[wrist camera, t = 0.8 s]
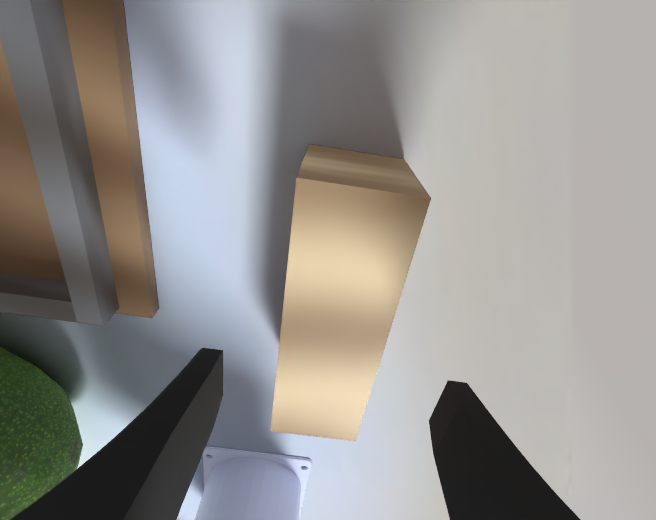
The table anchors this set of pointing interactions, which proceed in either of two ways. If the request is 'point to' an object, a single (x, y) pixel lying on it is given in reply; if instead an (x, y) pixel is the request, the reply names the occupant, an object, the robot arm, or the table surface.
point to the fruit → (33, 434)
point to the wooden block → (342, 286)
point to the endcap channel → (71, 165)
